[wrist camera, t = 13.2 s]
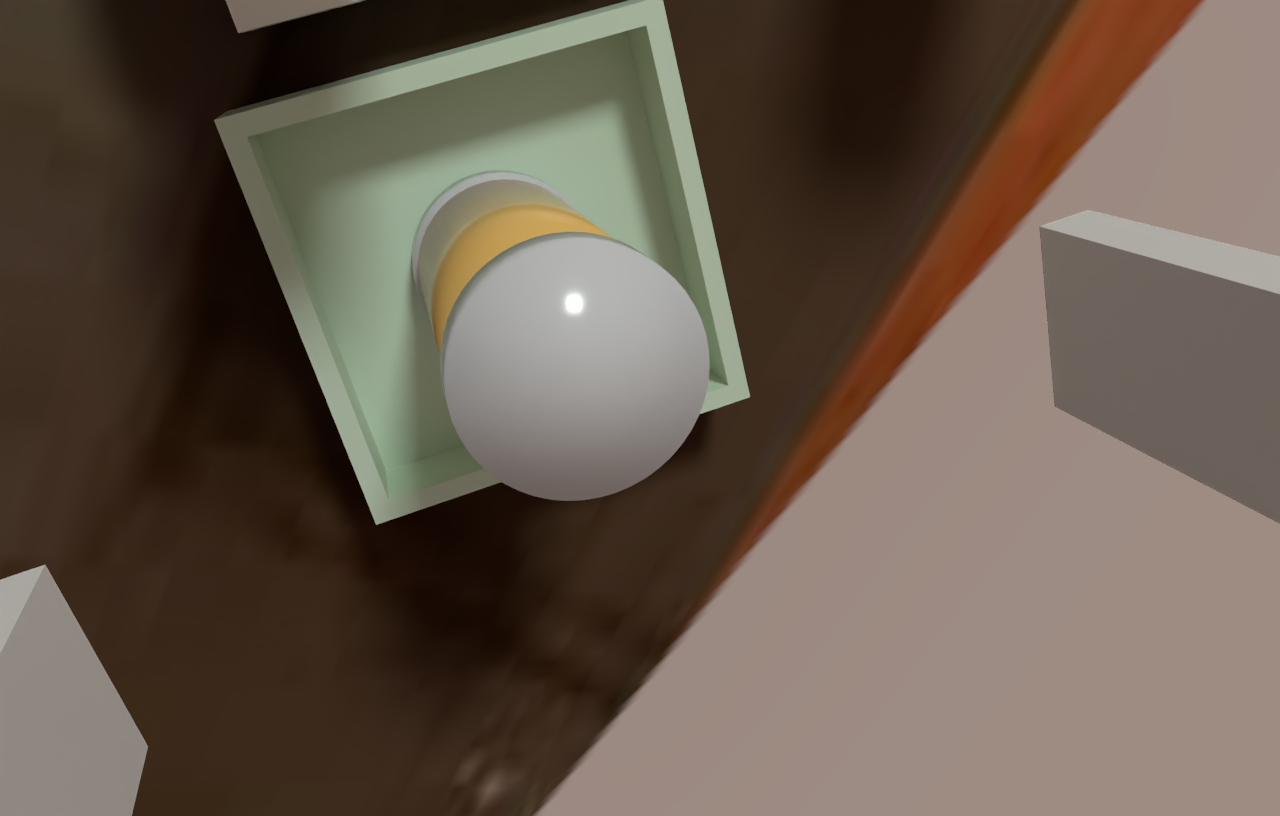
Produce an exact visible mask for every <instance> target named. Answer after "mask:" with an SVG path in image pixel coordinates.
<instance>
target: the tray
mask: <svg viewBox="0 0 1280 816" xmlns="http://www.w3.org/2000/svg"><path fill="white" fill-rule="evenodd" d="M214 122H215V124H216V127H217V129H218V132H219V134H220V137H221V139H222V142H223V144H224V147H225V149H226V152H227V154H228V157H229V159H230V162H231V164H232V167H233V169H234V172H235V174H236V177H237V179H238V182H239V184H240V187H241V189H242V192H243V194H244V197H245V199H246V202H247V204H248V207H249V209H250V212H251V214H252V217H253V219H254V222H255V224H256V227H257V229H258V232H259V234H260V236H261V239H262V241H263V244H264V246H265V249H266V251H267V254H268V256H269V259H270V261H271V264H272V266H273V269H274V271H275V274H276V276H277V279H278V281H279V284H280V286H281V289H282V291H283V294H284V296H285V299H286V301H287V304H288V306H289V309H290V311H291V314H292V316H293V319H294V321H295V324H296V326H297V329H298V331H299V334H300V336H301V339H302V341H303V344H304V346H305V349H306V351H307V354H308V356H309V359H310V361H311V364H312V366H313V369H314V371H315V374H316V376H317V379H318V381H319V384H320V386H321V389H322V391H323V394H324V396H325V399H326V401H327V404H328V406H329V409H330V411H331V414H332V416H333V419H334V421H335V424H336V426H337V429H338V431H339V434H340V436H341V439H342V441H343V444H344V446H345V449H346V451H347V454H348V456H349V458H350V461H351V463H352V466H353V468H354V471H355V473H356V476H357V478H358V481H359V483H360V486H361V488H362V491H363V493H364V496H365V498H366V501H367V503H368V506H369V508H370V511H371V513H372V516H373V518H374V521H375V523H376V525H377V524H380V523H383V522H386V521H389V520H392V519H395V518H398V517H401V516H404V515H407V514H409V513H412V512H415V511H418V510H421V509H424V508H427V507H430V506H433V505H436V504H439V503H442V502H445V501H447V500H450V499H453V498H456V497H459V496H462V495H465V494H468V493H471V492H474V491H477V490H480V489H483V488H485V487H488V486H491V485H494V484H497V483H500V482H501V481H499V480H498V479H497V478H495V477H494V476H492V475H491V474H489V473H488V472H487V471H486V470H485V469H484V468H483V467H482V466H481V465H480V464H478V463H477V461H476V460H475V459H474V458H473V457H472V455H471V454H470V453H469V452H468V451H467V449H466V447H465V446H464V444H463V443H462V441H461V439H460V438H459V436H458V434H457V432H456V429H455V427H454V425H453V423H452V420H451V417H450V413H449V409H448V406H447V402H446V398H445V394H444V391H443V387H442V381H441V374H440V354H439V350H438V347H437V343H436V340H435V336H434V333H433V329H432V325H431V322H430V318H429V315H428V313H427V311H426V310H425V308H424V306H423V304H422V302H421V300H420V297H419V295H418V291H417V287H416V284H415V280H414V276H413V270H412V245H413V239H414V235H415V232H416V228H417V226H418V224H419V221H420V219H421V217H422V216H423V214H424V212H425V211H426V209H427V207H428V206H429V205H430V204H431V202H432V201H433V200H434V199H435V198H436V197H437V196H438V195H439V194H440V193H441V192H442V191H443V190H444V189H446V188H447V187H449V186H450V185H451V184H453V183H455V182H457V181H458V180H460V179H462V178H464V177H467V176H470V175H473V174H476V173H480V172H485V171H494V170H505V171H514V172H520V173H523V174H526V175H530V176H532V177H535V178H537V179H539V180H541V181H543V182H544V183H546V184H547V185H549V186H551V187H552V188H554V189H555V190H556V191H558V192H559V193H560V194H561V195H563V196H564V197H565V198H566V199H567V200H568V201H569V202H570V203H571V204H572V205H573V206H574V207H575V208H576V210H577V211H578V212H579V213H580V214H581V215H583V216H584V217H585V218H587V219H588V220H589V221H591V222H592V223H593V224H595V225H596V226H597V227H599V228H600V229H601V230H603V231H604V232H605V233H606V234H608V235H609V236H610V237H612V238H613V239H616V240H619V241H621V242H623V243H625V244H627V245H629V246H631V247H633V248H635V249H636V250H638V251H639V252H641V253H642V254H644V255H646V256H647V257H648V258H650V259H651V260H652V261H654V262H655V263H657V264H658V265H659V266H661V267H662V268H663V269H664V270H666V271H667V272H668V273H669V274H670V275H671V276H672V277H674V278H675V279H676V281H677V282H678V283H679V284H680V285H681V286H682V287H683V289H684V290H685V291H686V292H687V294H688V295H689V297H690V298H691V300H692V302H693V303H694V305H695V307H696V309H697V311H698V313H699V315H700V317H701V319H702V323H703V326H704V329H705V332H706V336H707V342H708V347H709V361H710V370H709V381H708V387H707V391H706V396H705V400H704V403H703V406H702V408H701V411H700V414H702V413H705V412H708V411H710V410H713V409H716V408H719V407H722V406H725V405H728V404H731V403H734V402H737V401H740V400H743V399H746V398H748V397H750V394H749V390H748V385H747V381H746V376H745V372H744V367H743V362H742V358H741V353H740V349H739V344H738V340H737V335H736V331H735V326H734V322H733V317H732V312H731V308H730V303H729V299H728V294H727V290H726V285H725V281H724V276H723V272H722V267H721V262H720V258H719V253H718V249H717V244H716V240H715V235H714V231H713V226H712V222H711V217H710V212H709V208H708V203H707V199H706V194H705V190H704V185H703V181H702V176H701V172H700V167H699V162H698V158H697V153H696V149H695V144H694V140H693V135H692V131H691V126H690V122H689V117H688V112H687V108H686V103H685V99H684V94H683V90H682V85H681V81H680V76H679V72H678V67H677V62H676V58H675V53H674V49H673V44H672V40H671V35H670V31H669V26H668V22H667V17H666V12H665V8H664V3H663V0H628V1H625V2H621V3H617V4H614V5H610V6H606V7H603V8H599V9H596V10H592V11H588V12H585V13H581V14H577V15H574V16H570V17H567V18H563V19H559V20H556V21H552V22H548V23H545V24H541V25H538V26H534V27H530V28H527V29H523V30H519V31H516V32H512V33H508V34H505V35H501V36H498V37H494V38H490V39H487V40H483V41H479V42H476V43H472V44H469V45H465V46H461V47H458V48H454V49H450V50H447V51H443V52H440V53H436V54H432V55H429V56H425V57H421V58H418V59H414V60H411V61H407V62H403V63H400V64H396V65H392V66H389V67H385V68H381V69H378V70H374V71H371V72H367V73H363V74H360V75H356V76H352V77H349V78H345V79H342V80H338V81H334V82H331V83H327V84H323V85H320V86H316V87H313V88H309V89H305V90H302V91H298V92H294V93H291V94H287V95H283V96H280V97H276V98H273V99H269V100H265V101H262V102H258V103H254V104H251V105H247V106H244V107H240V108H236V109H233V110H229V111H226V112H225V113H223V114H222V115H220V116H219V117H218V118H216V119H215V120H214Z"/></svg>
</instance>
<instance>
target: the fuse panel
mask: <svg viewBox="0 0 1280 816" xmlns="http://www.w3.org/2000/svg"><path fill="white" fill-rule="evenodd" d="M362 1H366V0H226V3H227V5H228V8H229V11H230V13H231V16H232V18H233V21H234V24H235V26H236V29H237V32H238V33H245V32H249V31H252V30H256V29H260V28H264V27H268V26H271V25H275V24H279V23H283V22H286V21H290V20H294V19H298V18H301V17H305V16H309V15H313V14H317V13H320V12H324V11H328V10H332V9H335V8H339V7H343V6H347V5H351V4H354V3H358V2H362Z"/></svg>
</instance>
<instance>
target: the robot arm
mask: <svg viewBox="0 0 1280 816" xmlns="http://www.w3.org/2000/svg"><path fill="white" fill-rule="evenodd" d="M1040 238H1041V249H1042V260H1043V261H1042V262H1043V273H1044V285H1045V297H1046V309H1047V321H1048V333H1049V345H1050V356H1051V368H1052V380H1053V392H1054V403H1055V407H1057V408H1059V409H1061V410H1063V411H1065V412H1067V413H1068V414H1070V415H1072V416H1074V417H1076V418H1078V419H1080V420H1082V421H1084V422H1086V423H1088V424H1090V425H1092V426H1093V427H1096V428H1098V429H1099V430H1101V431H1103V432H1105V433H1107V434H1109V435H1111V436H1113V437H1115V438H1116V439H1118V440H1120V441H1123V442H1124V443H1126V444H1128V445H1130V446H1132V447H1134V448H1136V449H1138V450H1140V451H1141V452H1143V453H1145V454H1147V455H1149V456H1151V457H1153V458H1155V459H1157V460H1159V461H1161V462H1162V463H1165V464H1166V465H1168V466H1170V467H1172V468H1174V469H1176V470H1178V471H1180V472H1182V473H1184V474H1186V475H1187V476H1189V477H1191V478H1193V479H1195V480H1197V481H1199V482H1201V483H1203V484H1205V485H1207V486H1209V487H1210V488H1213V489H1215V490H1216V491H1218V492H1220V493H1222V494H1224V495H1226V496H1228V497H1230V498H1232V499H1233V500H1236V501H1237V502H1239V503H1241V504H1243V505H1245V506H1247V507H1249V508H1251V509H1253V510H1255V511H1257V512H1258V513H1260V514H1262V515H1264V516H1266V517H1268V518H1270V519H1272V520H1274V521H1276V522H1278V523H1280V256H1275V255H1272V254H1267V253H1263V252H1259V251H1255V250H1251V249H1247V248H1243V247H1239V246H1235V245H1231V244H1227V243H1222V242H1218V241H1214V240H1210V239H1206V238H1202V237H1197V236H1194V235H1190V234H1185V233H1181V232H1177V231H1173V230H1169V229H1165V228H1161V227H1157V226H1152V225H1148V224H1144V223H1140V222H1136V221H1132V220H1128V219H1124V218H1120V217H1116V216H1111V215H1107V214H1103V213H1099V212H1095V211H1091V210H1086V211H1083V212H1080V213H1077V214H1074V215H1071V216H1068V217H1065V218H1063V219H1059V220H1057V221H1054V222H1051V223H1048V224H1045V225H1042V226H1040ZM147 748H148V746H147V744H146V742H145V740H144V739H143V737H142V735H141V733H140V732H139V730H138V728H137V726H136V724H135V723H134V721H133V719H132V717H131V716H130V714H129V712H128V710H127V709H126V707H125V705H124V703H123V701H122V700H121V698H120V696H119V694H118V693H117V691H116V689H115V687H114V686H113V684H112V682H111V680H110V678H109V677H108V675H107V673H106V671H105V670H104V668H103V666H102V664H101V663H100V661H99V659H98V657H97V655H96V654H95V652H94V650H93V648H92V647H91V645H90V643H89V641H88V640H87V638H86V636H85V634H84V632H83V631H82V629H81V627H80V625H79V624H78V622H77V620H76V618H75V617H74V615H73V613H72V611H71V609H70V608H69V606H68V604H67V602H66V601H65V599H64V597H63V595H62V594H61V592H60V590H59V588H58V586H57V585H56V583H55V581H54V579H53V578H52V576H51V574H50V572H49V571H48V569H47V567H46V565H43V566H40V567H37V568H34V569H31V570H28V571H25V572H22V573H19V574H16V575H13V576H10V577H7V578H4V579H2V580H0V816H132V812H133V808H134V803H135V799H136V795H137V791H138V786H139V782H140V778H141V774H142V769H143V765H144V761H145V757H146V752H147Z"/></svg>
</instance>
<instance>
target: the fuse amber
mask: <svg viewBox="0 0 1280 816" xmlns="http://www.w3.org/2000/svg"><path fill="white" fill-rule="evenodd" d="M412 270H413V276H414V280H415V284H416V287H417V291H418V295H419V297H420V300H421V302H422V304H423V306H424V308H425V310H426V311H427V313H428V315H429V318H430V322H431V325H432V329H433V333H434V336H435V340H436V343H437V347H438V350H439V354H440V374H441V381H442V387H443V391H444V394H445V398H446V402H447V406H448V409H449V413H450V417H451V420H452V423H453V425H454V427H455V429H456V432H457V434H458V436H459V438H460V439H461V441H462V443H463V444H464V446H465V447H466V449H467V451H468V452H469V453H470V454H471V455H472V457H473V458H474V459H475V460H476V461H477V463H478V464H480V465H481V466H482V467H483V468H484V469H485V470H486V471H487V472H488V473H489V474H491V475H492V476H494V477H495V478H497V479H498V480H499V481H501V482H502V483H504V484H506V485H508V486H510V487H512V488H514V489H516V490H518V491H521V492H523V493H526V494H529V495H532V496H536V497H540V498H545V499H550V500H562V501H575V500H587V499H593V498H599V497H603V496H606V495H610V494H613V493H616V492H619V491H621V490H624V489H626V488H628V487H631V486H633V485H634V484H636V483H638V482H640V481H641V480H643V479H645V478H646V477H648V476H649V475H651V474H652V473H653V472H655V471H656V470H657V469H659V468H660V467H661V466H662V465H663V464H664V463H665V462H666V461H667V460H669V459H670V458H671V457H672V456H673V454H674V453H675V452H676V451H677V450H678V449H679V447H680V446H681V445H682V444H683V442H684V441H685V439H686V438H687V436H688V435H689V433H690V432H691V430H692V428H693V426H694V424H695V422H696V420H697V418H698V416H699V414H700V411H701V408H702V406H703V403H704V400H705V396H706V391H707V387H708V381H709V370H710V361H709V347H708V342H707V336H706V332H705V329H704V326H703V323H702V319H701V317H700V315H699V313H698V311H697V309H696V307H695V305H694V303H693V302H692V300H691V298H690V297H689V295H688V294H687V292H686V291H685V290H684V289H683V287H682V286H681V285H680V284H679V283H678V282H677V281H676V279H675V278H674V277H672V276H671V275H670V274H669V273H668V272H667V271H666V270H664V269H663V268H662V267H661V266H659V265H658V264H657V263H655V262H654V261H652V260H651V259H650V258H648V257H647V256H646V255H644V254H642V253H641V252H639V251H638V250H636V249H635V248H633V247H631V246H629V245H627V244H625V243H623V242H621V241H619V240H616V239H613V238H612V237H610V236H609V235H608V234H606V233H605V232H604V231H603V230H601V229H600V228H599V227H597V226H596V225H595V224H593V223H592V222H591V221H589V220H588V219H587V218H585V217H584V216H583V215H581V214H580V213H579V212H578V211H577V210H576V208H575V207H574V206H573V205H572V204H571V203H570V202H569V201H568V200H567V199H566V198H565V197H564V196H563V195H561V194H560V193H559V192H558V191H556V190H555V189H554V188H552V187H551V186H549V185H547V184H546V183H544V182H543V181H541V180H539V179H537V178H535V177H532V176H530V175H526V174H523V173H520V172H514V171H505V170H494V171H485V172H480V173H476V174H473V175H470V176H467V177H464V178H462V179H460V180H458V181H457V182H455V183H453V184H451V185H450V186H449V187H447V188H446V189H444V190H443V191H442V192H441V193H440V194H439V195H438V196H437V197H436V198H435V199H434V200H433V201H432V202H431V204H430V205H429V206H428V207H427V209H426V211H425V212H424V214H423V216H422V217H421V219H420V221H419V224H418V226H417V228H416V232H415V235H414V239H413V245H412Z"/></svg>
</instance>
